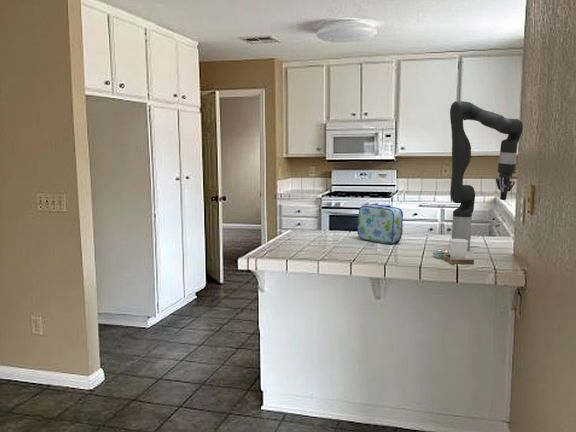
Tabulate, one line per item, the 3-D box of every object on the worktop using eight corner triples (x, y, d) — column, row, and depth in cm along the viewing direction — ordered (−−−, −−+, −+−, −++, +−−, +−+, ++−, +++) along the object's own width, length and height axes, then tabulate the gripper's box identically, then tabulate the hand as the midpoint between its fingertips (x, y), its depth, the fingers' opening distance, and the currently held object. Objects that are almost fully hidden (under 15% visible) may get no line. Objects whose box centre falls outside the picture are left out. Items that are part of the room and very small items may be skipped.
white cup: (464, 260, 243) (465, 238, 242) (468, 263, 235) (470, 241, 234) (447, 259, 244) (448, 238, 242) (451, 263, 236) (452, 241, 234)
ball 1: (435, 255, 250) (435, 249, 249) (441, 253, 250) (440, 248, 250) (438, 257, 247) (437, 251, 246) (444, 255, 247) (443, 249, 247)
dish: (432, 256, 251) (432, 251, 250) (446, 256, 252) (446, 251, 251) (438, 259, 244) (438, 254, 244) (452, 259, 245) (452, 254, 244)
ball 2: (441, 255, 248) (441, 249, 248) (447, 256, 248) (447, 249, 248) (444, 256, 245) (444, 250, 245) (449, 257, 245) (450, 250, 245)
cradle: (441, 259, 244) (441, 254, 244) (461, 258, 246) (462, 254, 245) (452, 264, 233) (452, 260, 232) (473, 264, 234) (474, 259, 234)
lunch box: (404, 243, 284) (406, 205, 281) (392, 246, 277) (394, 206, 274) (367, 237, 303) (368, 201, 300) (355, 239, 296) (356, 202, 293)
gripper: (492, 161, 246) (488, 197, 249) (507, 163, 233) (503, 201, 236) (506, 161, 247) (502, 198, 250) (522, 163, 234) (518, 202, 237)
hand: (503, 199), depth 243 cm, fingers closed
